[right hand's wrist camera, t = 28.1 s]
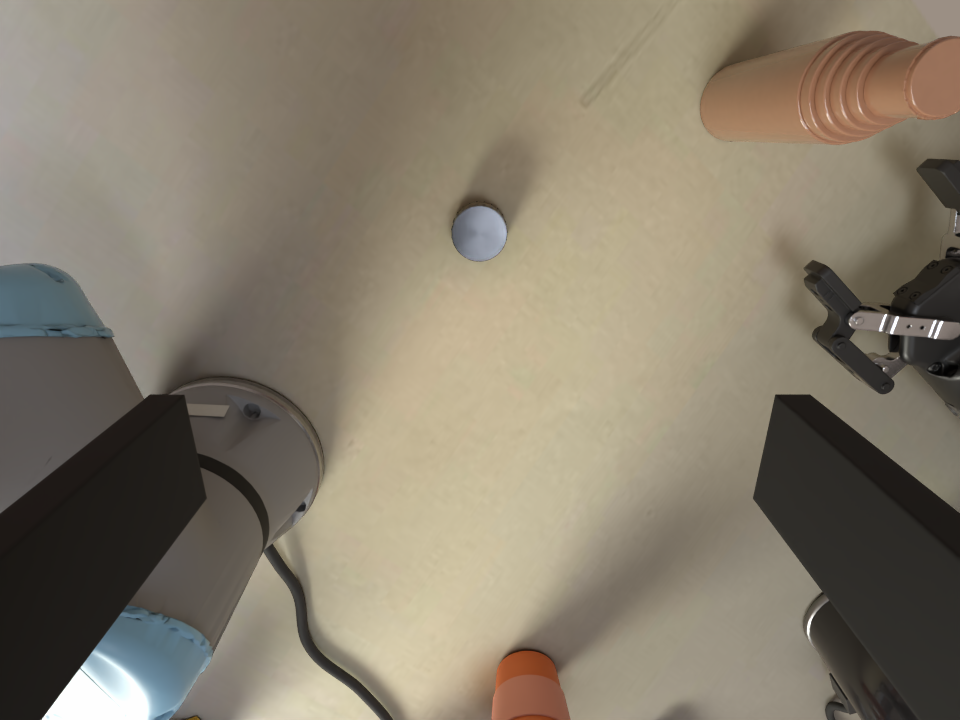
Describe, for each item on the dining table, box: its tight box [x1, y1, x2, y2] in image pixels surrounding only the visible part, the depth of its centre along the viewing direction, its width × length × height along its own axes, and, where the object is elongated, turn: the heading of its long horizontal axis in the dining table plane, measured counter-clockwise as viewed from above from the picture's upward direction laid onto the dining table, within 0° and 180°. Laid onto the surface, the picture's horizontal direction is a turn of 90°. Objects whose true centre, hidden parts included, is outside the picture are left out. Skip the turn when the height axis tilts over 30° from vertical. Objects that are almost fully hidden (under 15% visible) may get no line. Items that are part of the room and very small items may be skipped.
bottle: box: [700, 31, 960, 145], centre depth 30 cm, size 5×5×19 cm
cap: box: [451, 201, 508, 261], centre depth 41 cm, size 4×4×2 cm
